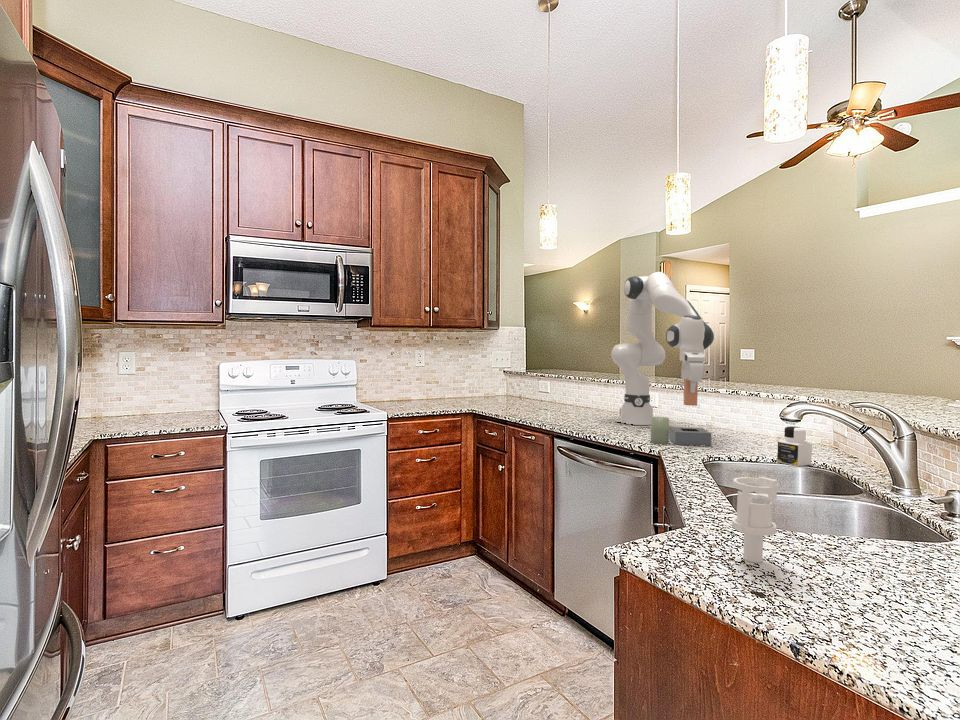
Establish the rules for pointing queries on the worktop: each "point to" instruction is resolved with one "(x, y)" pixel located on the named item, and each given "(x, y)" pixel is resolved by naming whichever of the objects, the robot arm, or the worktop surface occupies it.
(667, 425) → the green rectangular block
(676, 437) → the bore block
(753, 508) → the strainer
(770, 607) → the worktop surface
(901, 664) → the worktop surface
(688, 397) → the square bit
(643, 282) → the robot arm
